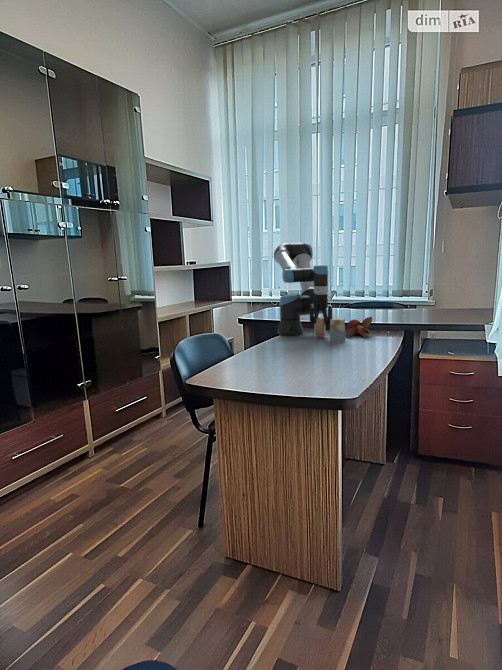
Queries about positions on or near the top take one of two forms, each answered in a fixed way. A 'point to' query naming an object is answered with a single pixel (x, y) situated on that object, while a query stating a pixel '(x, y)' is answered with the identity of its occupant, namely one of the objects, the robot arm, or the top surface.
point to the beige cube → (337, 324)
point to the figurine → (358, 327)
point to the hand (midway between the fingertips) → (320, 335)
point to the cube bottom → (337, 336)
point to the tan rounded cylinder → (320, 327)
